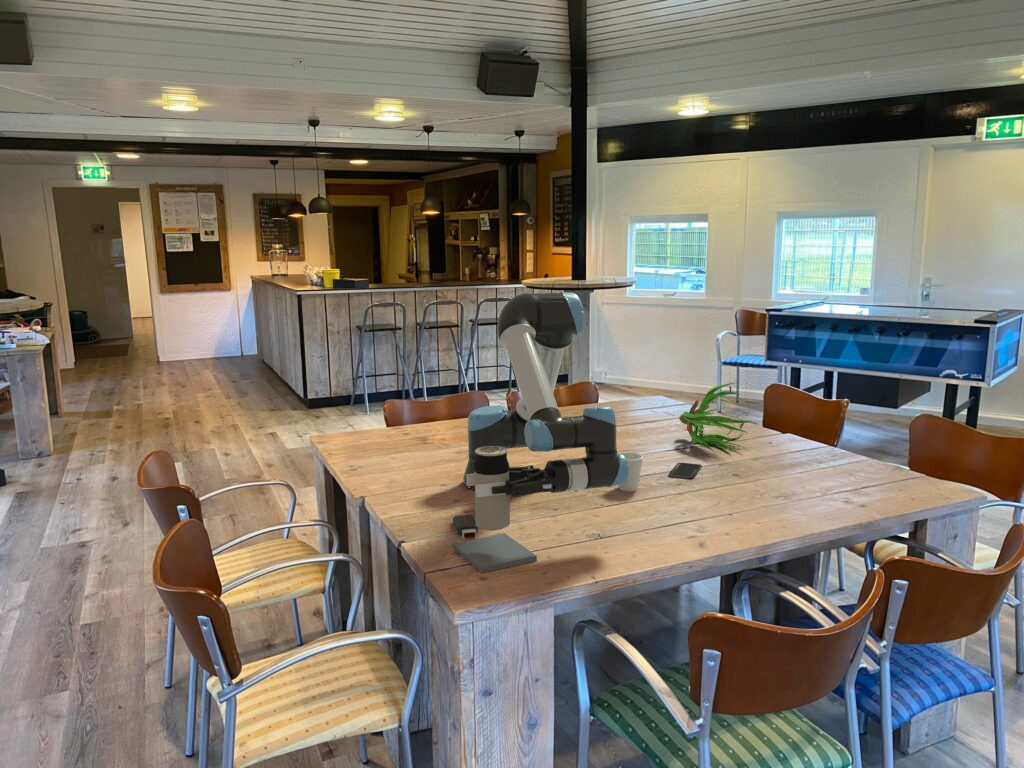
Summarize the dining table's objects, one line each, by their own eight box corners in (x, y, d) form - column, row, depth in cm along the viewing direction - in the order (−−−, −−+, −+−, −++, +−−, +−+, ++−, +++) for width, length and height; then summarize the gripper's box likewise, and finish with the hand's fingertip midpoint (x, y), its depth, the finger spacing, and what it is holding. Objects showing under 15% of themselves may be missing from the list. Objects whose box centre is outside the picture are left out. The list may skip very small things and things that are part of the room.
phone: (667, 474, 235) (678, 462, 249) (667, 477, 235) (678, 465, 249) (693, 477, 232) (702, 464, 245) (693, 480, 232) (702, 467, 246)
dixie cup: (621, 494, 219) (621, 460, 217) (609, 485, 227) (610, 453, 225) (647, 491, 221) (648, 458, 220) (635, 483, 229) (635, 451, 228)
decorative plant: (695, 447, 290) (763, 461, 267) (651, 444, 275) (719, 459, 251) (704, 380, 290) (773, 388, 266) (660, 374, 274) (729, 381, 251)
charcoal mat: (452, 548, 180) (452, 543, 180) (504, 537, 187) (504, 533, 186) (481, 573, 166) (481, 567, 166) (536, 560, 173) (536, 555, 172)
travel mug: (470, 529, 173) (468, 452, 170) (483, 517, 180) (481, 444, 177) (502, 532, 170) (501, 455, 167) (514, 521, 178) (513, 446, 175)
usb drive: (472, 522, 199) (472, 512, 198) (480, 538, 187) (480, 528, 187) (452, 524, 198) (452, 513, 197) (459, 540, 186) (459, 530, 185)
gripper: (582, 504, 170) (484, 515, 163) (549, 478, 189) (461, 488, 183) (582, 471, 169) (483, 482, 162) (549, 449, 188) (460, 458, 181)
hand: (471, 485), depth 172 cm, fingers closed on travel mug, 8 cm apart
